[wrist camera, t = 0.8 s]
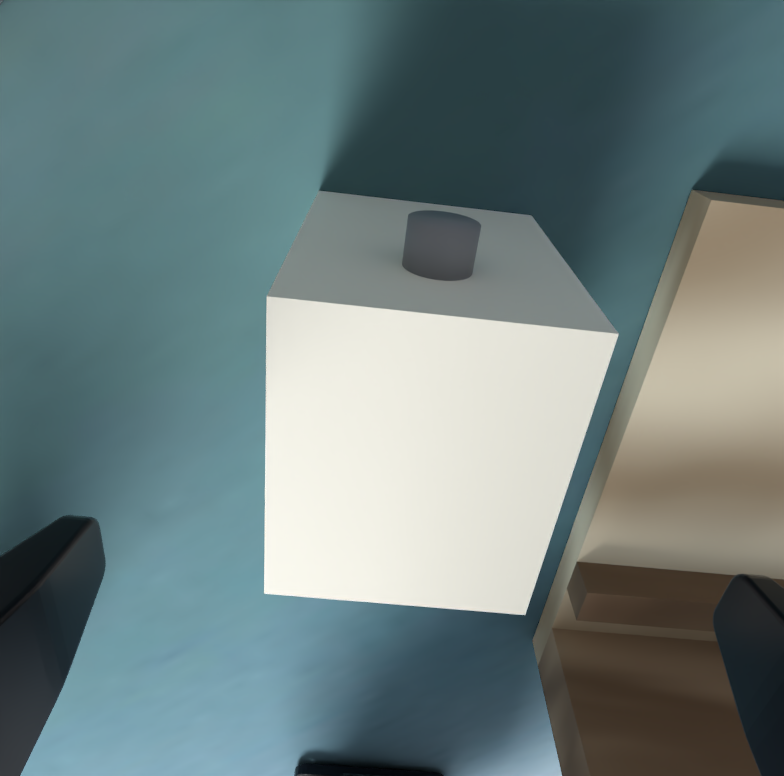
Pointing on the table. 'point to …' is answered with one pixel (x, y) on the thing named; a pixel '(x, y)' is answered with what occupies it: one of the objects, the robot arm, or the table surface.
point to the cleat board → (676, 512)
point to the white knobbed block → (423, 403)
